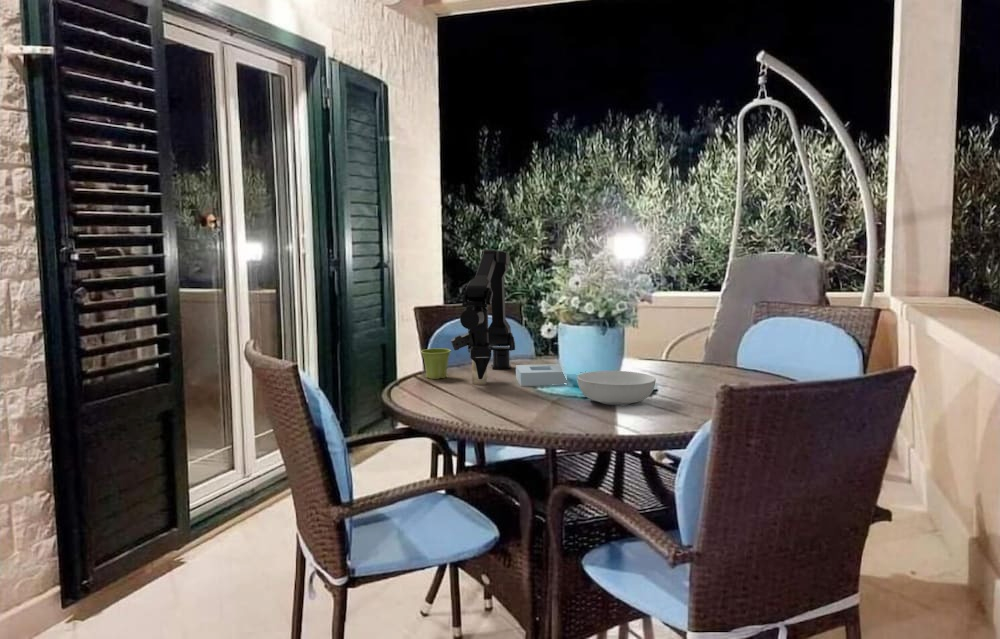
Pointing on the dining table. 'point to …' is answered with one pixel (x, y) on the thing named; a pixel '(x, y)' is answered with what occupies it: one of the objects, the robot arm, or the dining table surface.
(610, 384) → the serving bowl
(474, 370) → the birch peg
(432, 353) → the plant pot
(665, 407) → the dining table surface
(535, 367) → the socket block
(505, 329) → the robot arm
